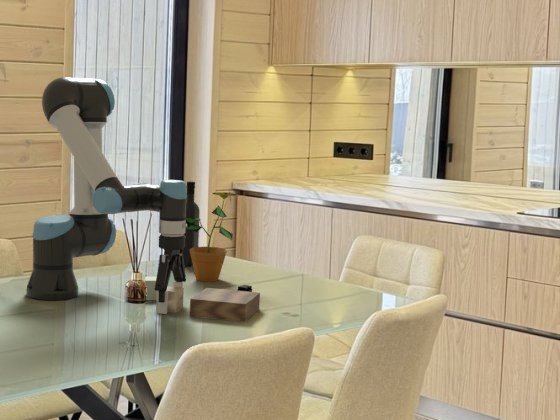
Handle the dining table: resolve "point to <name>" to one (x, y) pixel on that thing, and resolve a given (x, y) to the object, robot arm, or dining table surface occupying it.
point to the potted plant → (209, 248)
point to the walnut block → (224, 304)
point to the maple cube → (174, 299)
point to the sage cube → (151, 288)
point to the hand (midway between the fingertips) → (170, 308)
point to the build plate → (245, 288)
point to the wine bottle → (193, 213)
